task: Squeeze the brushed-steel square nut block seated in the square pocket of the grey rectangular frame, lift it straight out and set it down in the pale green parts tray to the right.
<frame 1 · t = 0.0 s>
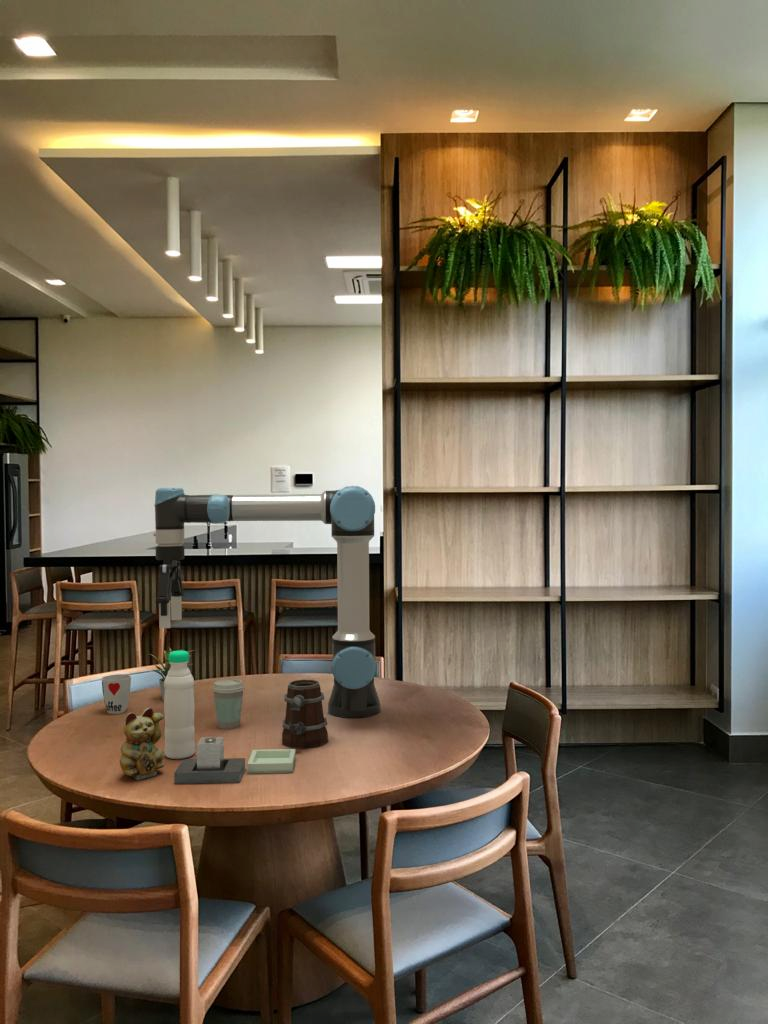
hand: (170, 624, 214), 28 cm above the table, fingers open, 13 cm apart
grey rectangular frame: (210, 776, 177), on the table
mug: (302, 744, 200), on the table
cup: (116, 712, 231), on the table
coffee cup: (228, 726, 216), on the table
house plant: (175, 700, 245), on the table
nut block: (210, 757, 177), in the grey rectangular frame
parts tray: (272, 765, 183), on the table
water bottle: (179, 756, 191), on the table
decorative figurine: (140, 775, 178), on the table
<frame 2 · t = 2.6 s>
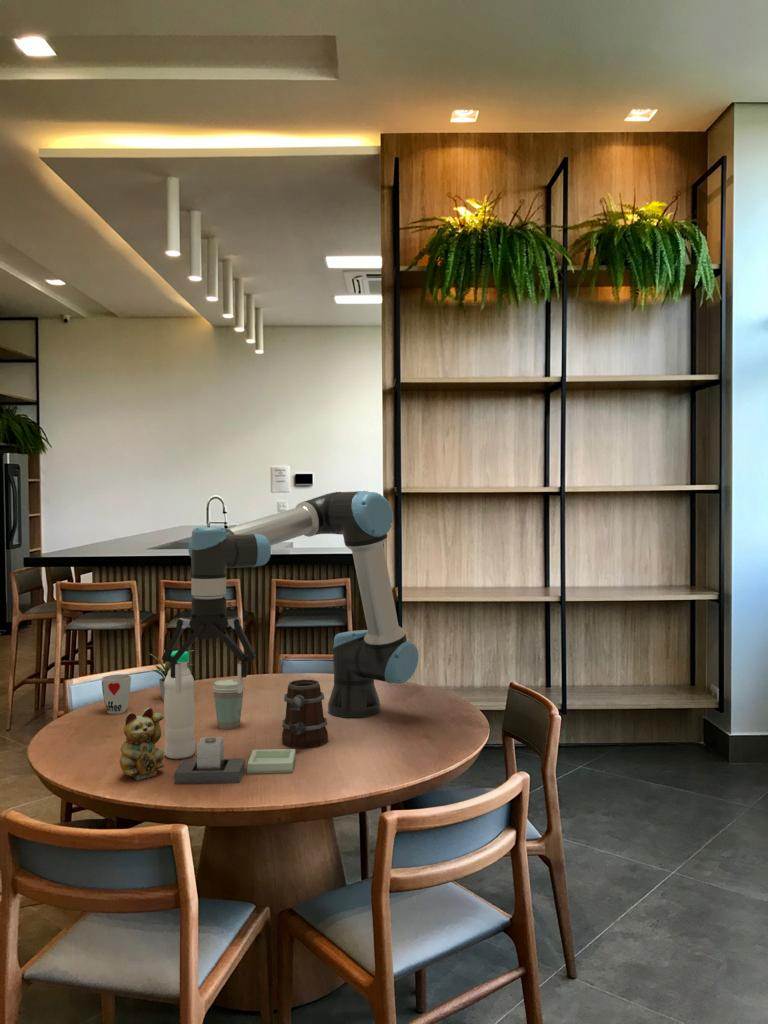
hand: (209, 692, 177), 19 cm above the table, fingers open, 13 cm apart
nothing on the table moved.
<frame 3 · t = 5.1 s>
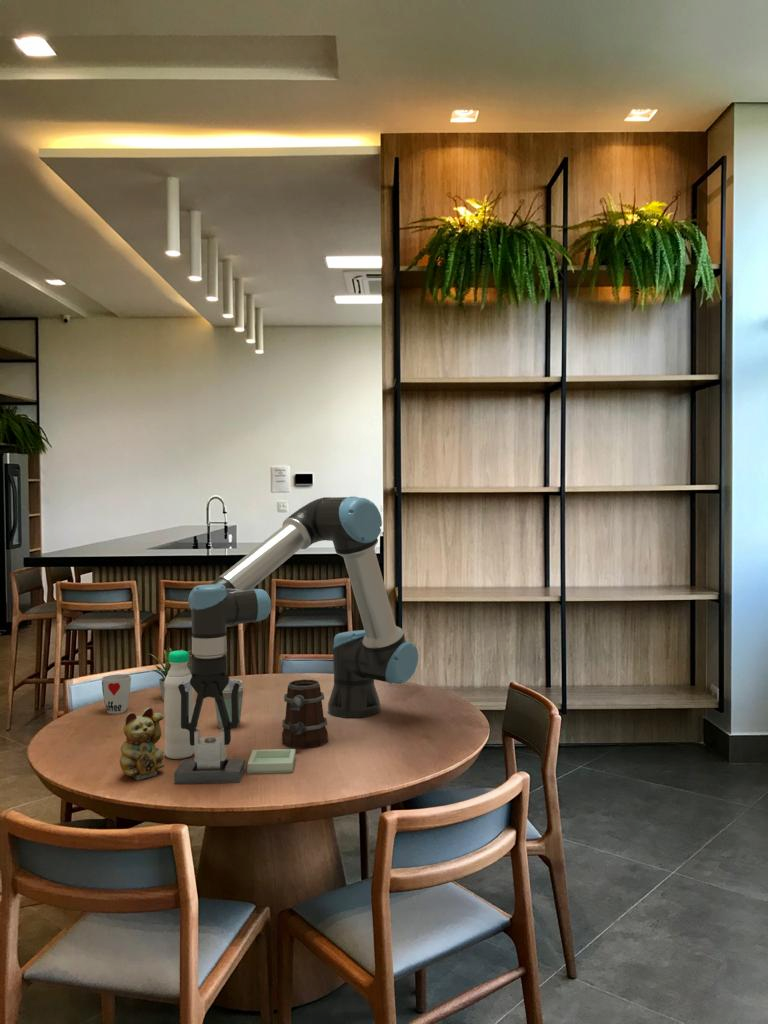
hand: (210, 759, 177), 4 cm above the table, fingers closed on nut block, 5 cm apart
nut block: (210, 757, 177), in the grey rectangular frame, touching gripper
everything else where it was.
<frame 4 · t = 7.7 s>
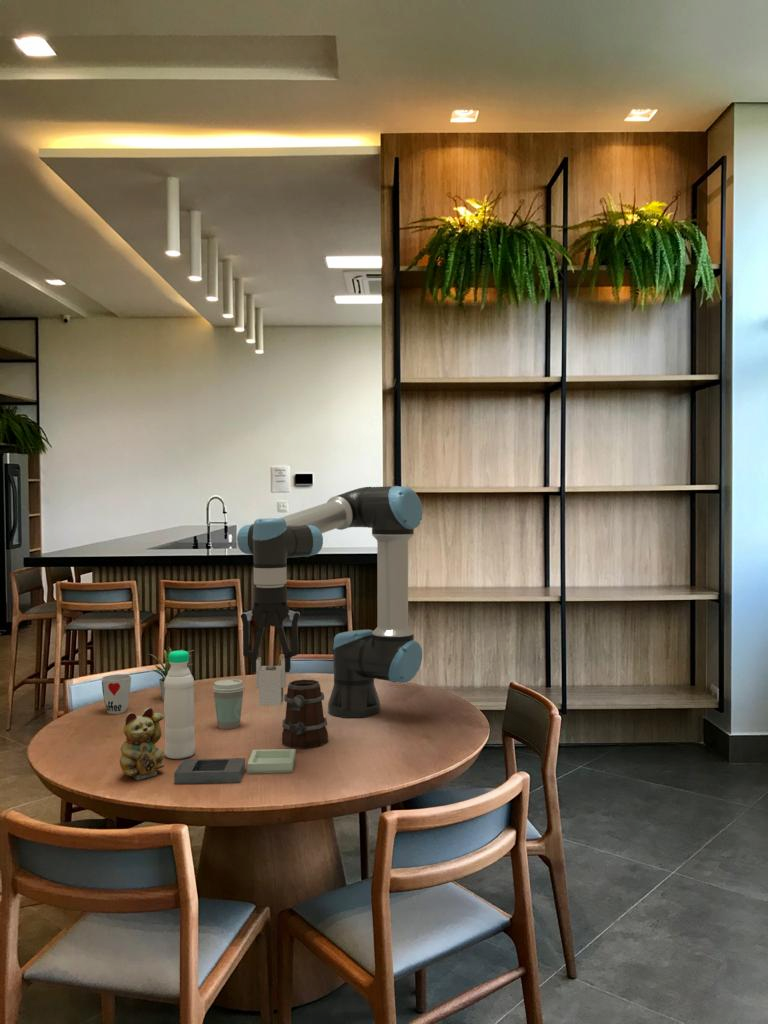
hand: (271, 686, 183), 18 cm above the table, fingers closed on nut block, 5 cm apart
nut block: (271, 684, 183), point 19 cm above the table, touching gripper
everything else where it was.
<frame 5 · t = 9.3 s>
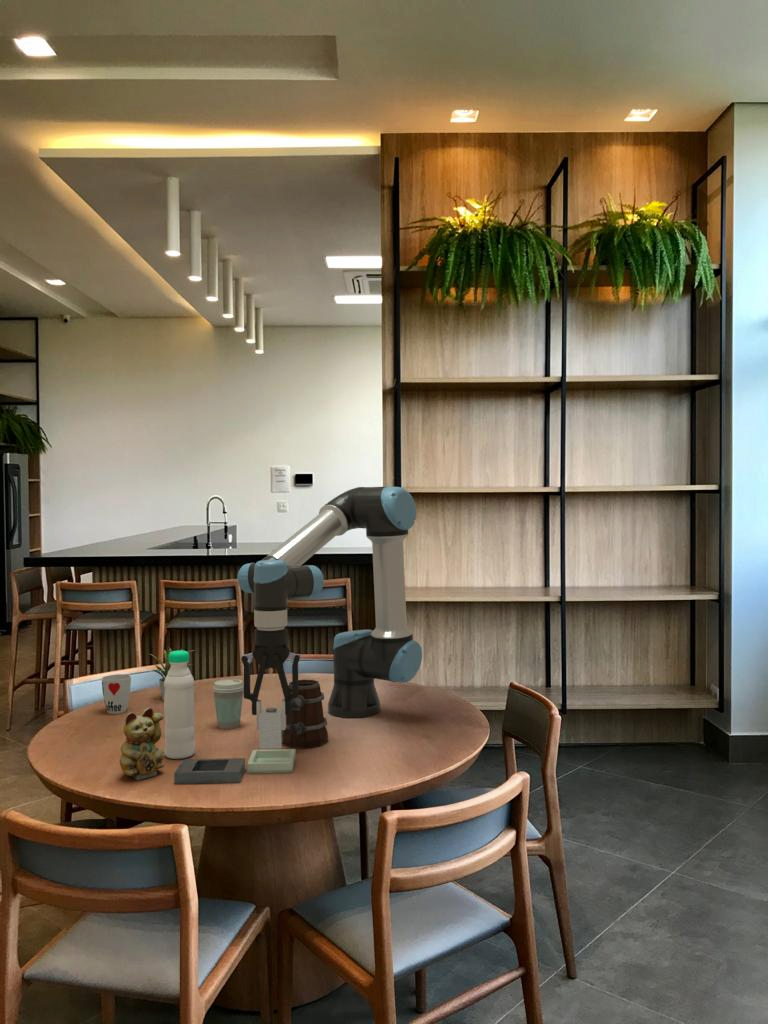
hand: (271, 728, 183), 9 cm above the table, fingers closed on nut block, 5 cm apart
nut block: (271, 726, 183), point 9 cm above the table, touching gripper
everything else where it was.
when the fingers open (6 cm above the table, at t = 10.6 s): nut block drops 1 cm, resting on parts tray.
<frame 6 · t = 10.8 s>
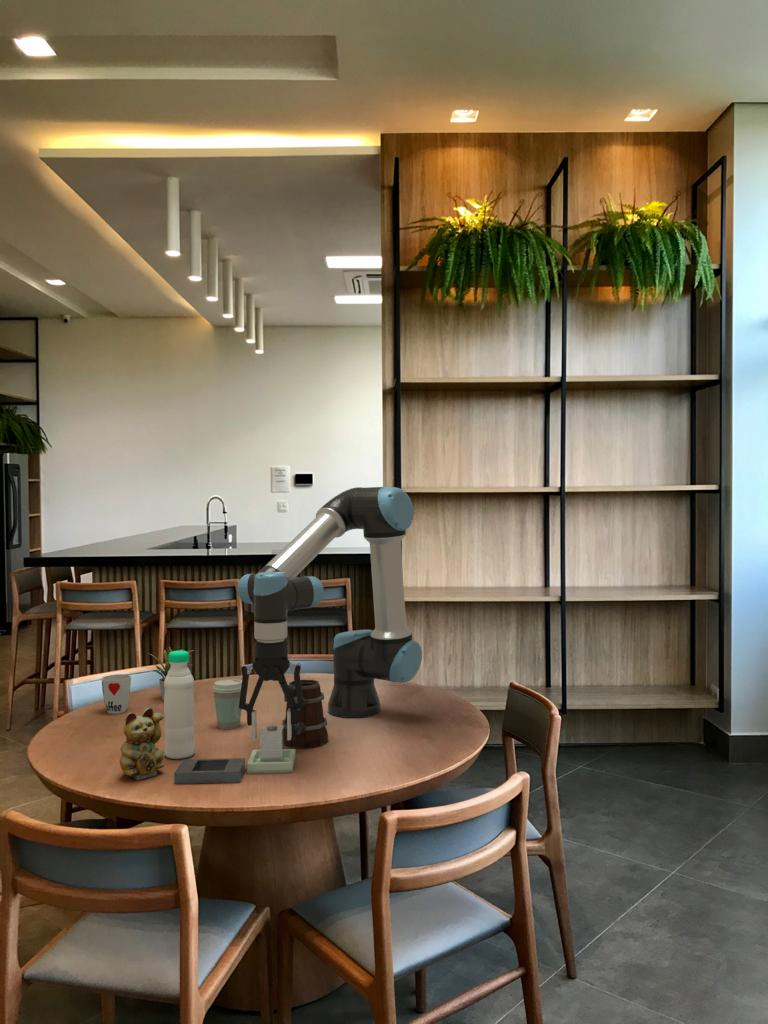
hand: (271, 738, 183), 6 cm above the table, fingers open, 7 cm apart
nut block: (272, 745, 183), in the parts tray, point 5 cm above the table
everything else where it was.
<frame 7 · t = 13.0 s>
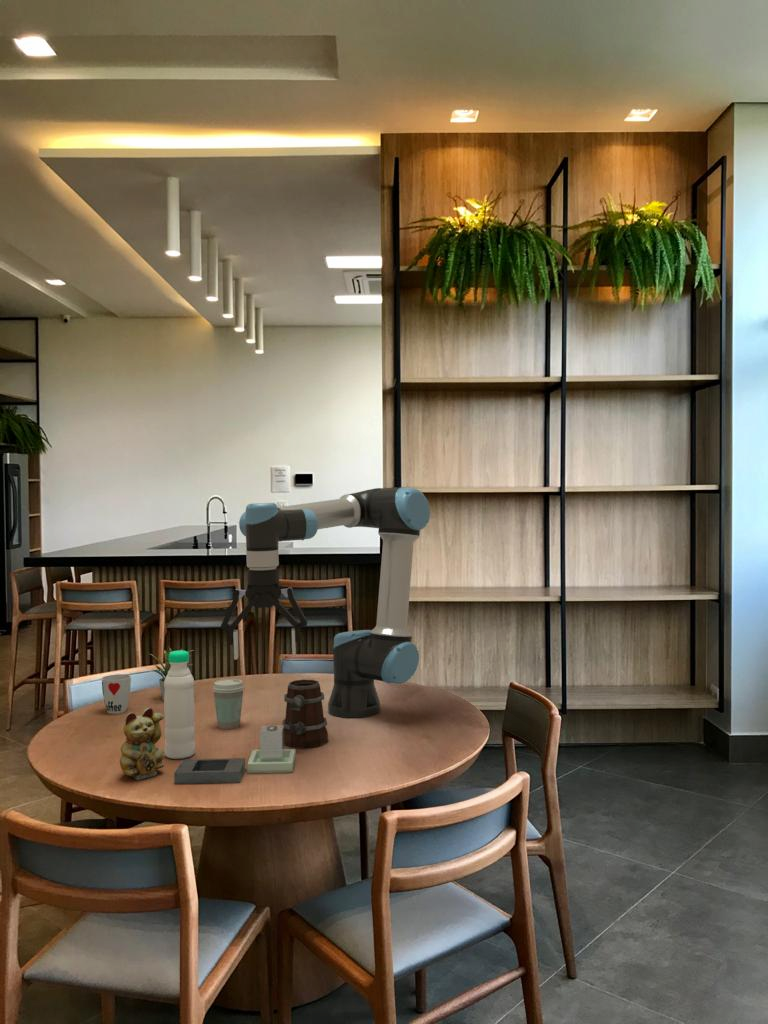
hand: (265, 657, 189), 24 cm above the table, fingers open, 13 cm apart
nothing on the table moved.
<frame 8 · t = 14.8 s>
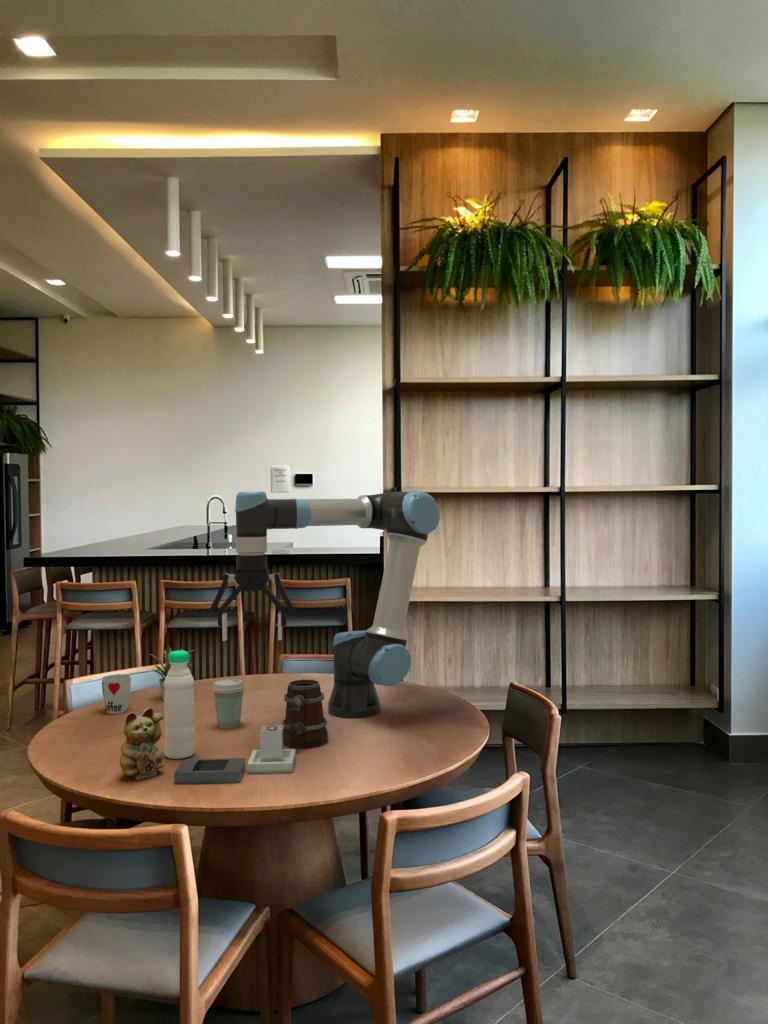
hand: (252, 639, 197), 27 cm above the table, fingers open, 13 cm apart
nothing on the table moved.
at the end: nut block inside the target area on the parts tray (0.0 cm from its centre), point 4.7 cm above the parts tray's base; nut block tilted 0°; nut block touching parts tray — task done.
